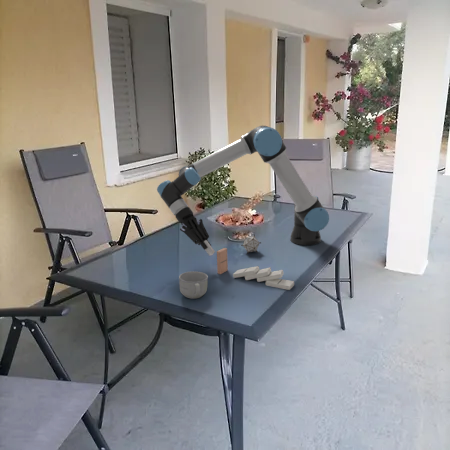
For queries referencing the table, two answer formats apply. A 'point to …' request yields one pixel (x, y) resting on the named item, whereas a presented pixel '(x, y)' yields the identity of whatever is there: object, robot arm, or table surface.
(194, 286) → the teacup
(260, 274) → the domino
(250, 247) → the game die
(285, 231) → the table surface
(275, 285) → the domino
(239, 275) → the domino
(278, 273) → the domino
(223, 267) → the domino
